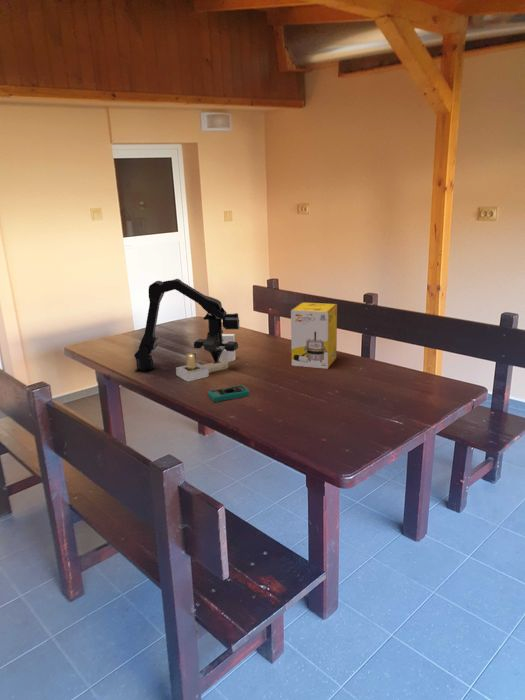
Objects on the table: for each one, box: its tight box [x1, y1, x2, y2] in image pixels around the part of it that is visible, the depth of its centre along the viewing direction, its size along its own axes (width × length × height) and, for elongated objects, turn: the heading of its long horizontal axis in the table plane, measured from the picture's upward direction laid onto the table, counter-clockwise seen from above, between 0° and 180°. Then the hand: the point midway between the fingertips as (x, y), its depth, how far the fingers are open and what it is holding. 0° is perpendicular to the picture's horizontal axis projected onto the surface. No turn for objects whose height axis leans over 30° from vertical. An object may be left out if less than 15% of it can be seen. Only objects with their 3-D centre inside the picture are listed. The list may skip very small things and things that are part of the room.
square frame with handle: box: [175, 360, 229, 382], centre depth 229 cm, size 10×22×4 cm, turn 125°
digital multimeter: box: [207, 384, 250, 403], centre depth 205 cm, size 7×15×3 cm, turn 113°
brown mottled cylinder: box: [185, 352, 198, 371], centre depth 225 cm, size 4×4×10 cm
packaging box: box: [290, 302, 338, 370], centre depth 238 cm, size 16×16×25 cm
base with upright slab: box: [219, 333, 237, 363], centre depth 246 cm, size 9×9×12 cm
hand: (216, 363), depth 235 cm, fingers closed
